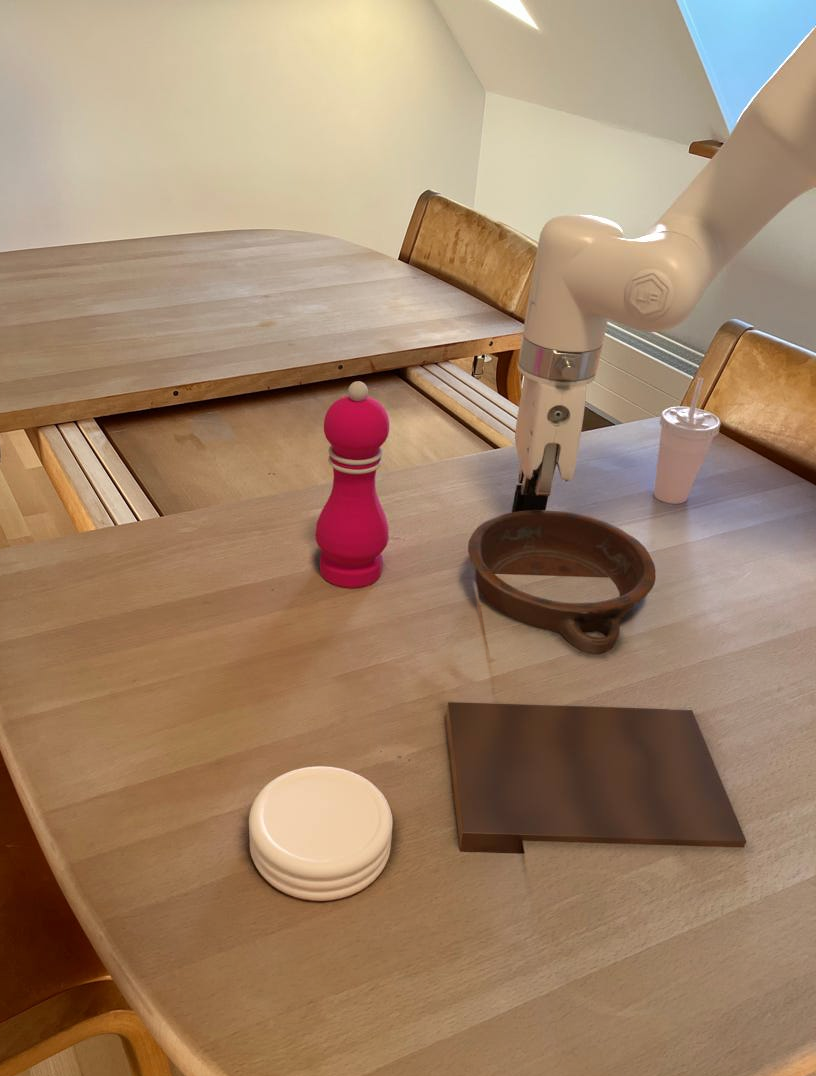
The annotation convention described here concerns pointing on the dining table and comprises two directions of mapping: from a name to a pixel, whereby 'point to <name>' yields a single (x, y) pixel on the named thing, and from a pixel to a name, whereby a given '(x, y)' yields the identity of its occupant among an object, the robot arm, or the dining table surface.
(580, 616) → the dish
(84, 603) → the dining table surface
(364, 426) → the pepper mill
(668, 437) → the smoothie
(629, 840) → the cutting board
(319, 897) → the coaster
